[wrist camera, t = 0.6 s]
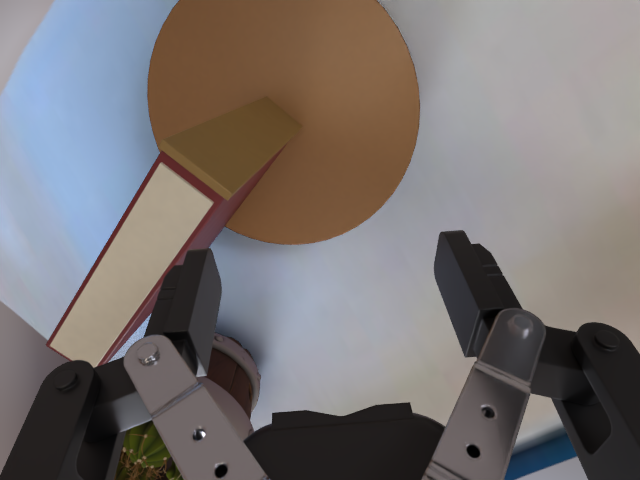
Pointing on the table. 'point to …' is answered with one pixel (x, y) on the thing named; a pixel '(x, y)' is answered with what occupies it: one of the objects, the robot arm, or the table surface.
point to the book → (252, 145)
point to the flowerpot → (226, 389)
